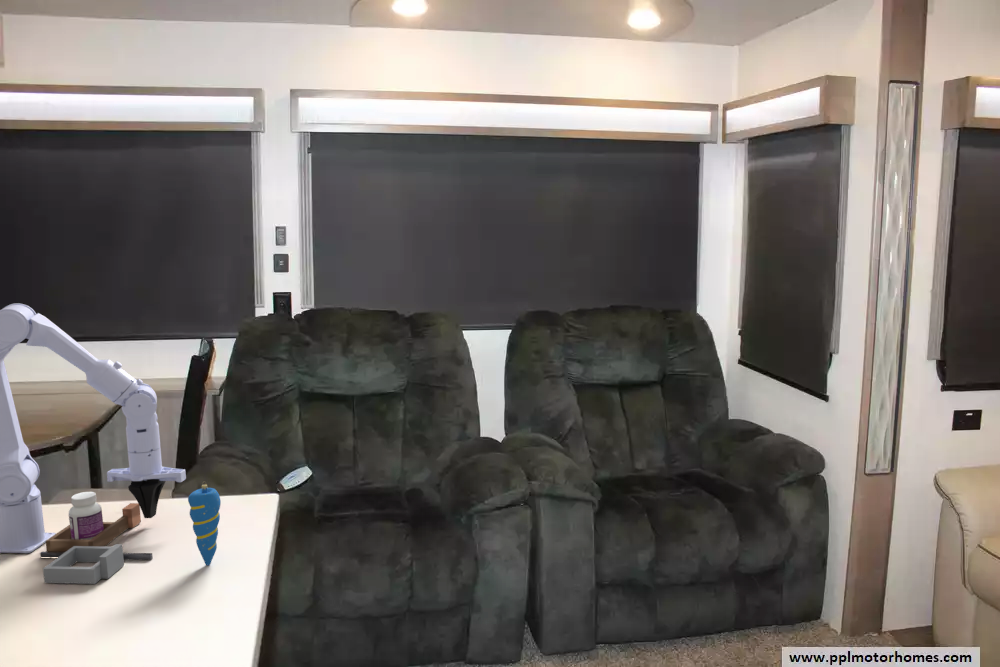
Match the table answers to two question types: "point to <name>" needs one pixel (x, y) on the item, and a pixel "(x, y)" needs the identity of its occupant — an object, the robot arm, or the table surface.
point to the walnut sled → (110, 532)
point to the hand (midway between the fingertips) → (150, 516)
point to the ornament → (205, 520)
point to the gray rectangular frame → (103, 569)
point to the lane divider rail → (125, 555)
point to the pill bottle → (85, 516)
